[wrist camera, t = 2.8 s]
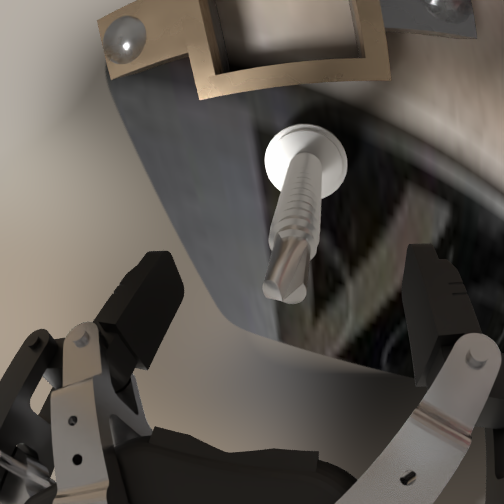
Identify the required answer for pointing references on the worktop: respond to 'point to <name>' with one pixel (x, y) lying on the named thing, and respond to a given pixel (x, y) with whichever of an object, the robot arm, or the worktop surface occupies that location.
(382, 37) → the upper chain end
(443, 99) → the worktop surface
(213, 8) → the lower chain end
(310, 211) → the screw
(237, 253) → the worktop surface
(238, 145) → the worktop surface
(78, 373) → the robot arm
